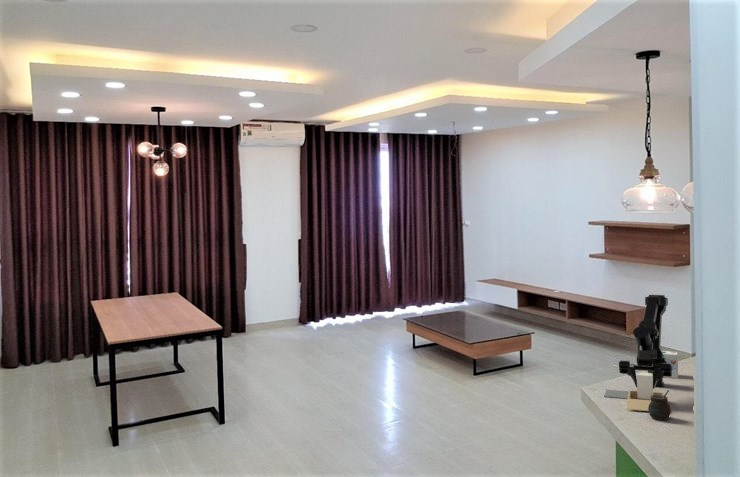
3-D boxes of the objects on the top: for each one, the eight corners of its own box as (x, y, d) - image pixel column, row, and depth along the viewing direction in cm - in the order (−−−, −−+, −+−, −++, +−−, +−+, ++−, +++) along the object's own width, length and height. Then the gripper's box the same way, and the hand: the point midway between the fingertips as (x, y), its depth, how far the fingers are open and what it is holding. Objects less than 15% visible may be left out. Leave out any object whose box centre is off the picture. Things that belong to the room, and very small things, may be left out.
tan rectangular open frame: (629, 396, 246) (629, 387, 246) (663, 399, 241) (663, 390, 240) (627, 410, 229) (626, 401, 229) (663, 414, 223) (662, 404, 223)
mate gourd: (643, 417, 221) (642, 389, 221) (659, 414, 224) (658, 387, 223) (659, 423, 214) (658, 394, 214) (675, 419, 217) (675, 391, 217)
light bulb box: (651, 376, 274) (651, 352, 274) (652, 373, 280) (651, 349, 280) (678, 378, 269) (677, 354, 269) (678, 375, 275) (677, 351, 275)
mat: (606, 390, 256) (606, 389, 256) (629, 392, 252) (629, 391, 252) (604, 397, 247) (604, 396, 247) (628, 399, 243) (628, 398, 243)
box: (638, 402, 238) (637, 372, 238) (653, 403, 235) (652, 373, 235) (637, 405, 234) (636, 374, 233) (653, 407, 231) (652, 376, 231)
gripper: (618, 340, 242) (617, 374, 232) (670, 342, 233) (671, 378, 224) (620, 355, 249) (619, 389, 239) (671, 358, 241) (672, 393, 231)
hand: (645, 387), depth 233 cm, fingers closed on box, 5 cm apart
